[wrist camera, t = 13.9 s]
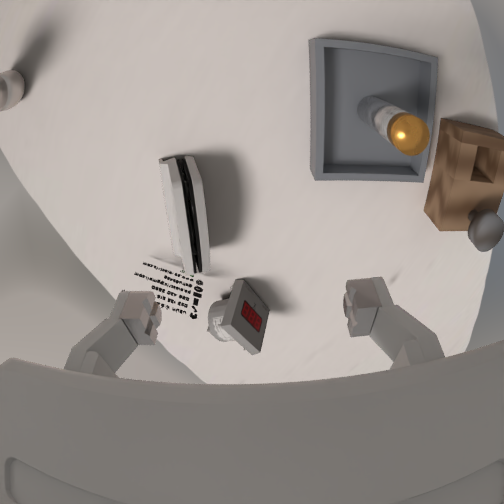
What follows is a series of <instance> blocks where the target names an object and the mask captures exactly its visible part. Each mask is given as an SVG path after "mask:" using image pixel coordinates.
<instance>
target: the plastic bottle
mask: <svg viewBox="0 0 504 504" xmlns="http://www.w3.org/2000/svg"><path fill="white" fill-rule="evenodd" d="M24 90H25V83H24V79H23V77H22V75H21V74H20V73H18V72H17V71H14V70H13V71H4V72H2V73H0V111H4V110H8V109H10V108H12V107H14V106H15V105H16V104H18V103H19V101H20V100H21V98H22V96H23V94H24Z"/></svg>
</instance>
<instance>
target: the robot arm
mask: <svg viewBox="0 0 504 504" xmlns="http://www.w3.org/2000/svg"><path fill="white" fill-rule="evenodd" d="M346 290H347V292H346V293H345V294H344V300H343V307H344V313H345V316H346V317H347V318H348V324H347V325H348V329H349V333H350V337H357V336H367V335H370V337H371V338H372V339H373V341H374V342H375V343H376V344H377V345H378V346H379V347H380V348H381V349H382V350H383V351H384V352H385V353H386V354H387V355H388V356H389V357H390V359H391V360H392V361H393V362H394V363H393V364H392V366H391V368H390V370H386V371H380V372H374V373H368V374H361V375H354V376H347V377H339V378H331V379H322V380H311V381H300V382H286V383H268V384H185V383H167V382H154V381H142V380H132V379H123V378H119V377H118V376H117V375H116V374H115V372H116V371H117V370H118V369H119V367H120V366H121V365H122V364H123V363H124V362H125V360H126V359H127V358H128V357H129V356H130V355H131V353H132V352H133V351H134V350H135V349H136V347H137V346H138V345H155V342H156V339H157V335H158V332H157V330H156V328H157V327H158V326H159V325H160V323H161V317H162V313H161V308H160V306H159V304H158V303H156V302H155V298H156V297H155V295H154V293H153V292H151V291H122V292H120V293H119V295H118V297H117V300H116V302H115V304H114V307H113V309H112V312H111V314H110V317H109V319H105V320H104V321H103V322H102V323H100V324H99V325H98V326H97V327H96V328H94V329H93V330H92V331H91V332H90V333H89V334H88V335H86V336H85V337H84V338H83V339H82V340H81V341H80V342H78V343H77V344H76V345H75V346H74V347H73V348H72V349H71V352H70V354H69V357H68V359H67V362H66V365H65V367H64V369H59V368H55V367H50V366H46V365H41V364H37V363H33V362H28V361H24V360H21V359H17V358H9V359H8V360H6V361H5V362H4V363H2V364H1V365H0V504H504V340H502V341H499V342H496V343H493V344H490V345H487V346H483V347H480V348H477V349H474V350H470V351H467V352H464V353H460V354H457V355H453V356H449V357H445V356H444V353H443V350H442V348H441V345H440V343H439V340H438V338H437V335H436V334H435V333H434V332H432V331H431V330H430V329H428V328H427V327H426V326H425V325H423V324H422V323H421V322H419V321H418V320H417V319H416V318H414V317H413V316H412V315H410V314H409V313H408V312H406V311H405V310H404V309H402V308H401V307H400V306H398V305H394V303H393V301H392V298H391V296H390V293H389V291H388V289H387V286H386V284H385V282H384V279H383V278H382V277H374V278H364V279H354V280H347V282H346Z"/></svg>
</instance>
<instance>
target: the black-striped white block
mask: <svg viewBox="0 0 504 504" xmlns="http://www.w3.org/2000/svg"><path fill="white" fill-rule="evenodd" d="M159 165H160V172H161V180H162V187H163V194H164V200H165V207H166V213H167V219H168V225H169V231H170V237H171V242H172V248H173V253H174V255H175V256H178V257H181V259H182V263H183V266H184V270H185V274H186V275H194V273H196V264H197V267H198V270H199V272H202V273H205V272H207V271H209V270H210V247H209V235H208V225H207V216H206V207H205V199H204V191H203V184H202V179H201V176H200V174H199V171H198V168H197V166H196V163H195V160H194V157H192V156H185V159H182V165H183V172H182V170H181V166H180V163H179V160H176V159H175V158H172V159H169V160H166V161H163V160H162V159H159ZM187 198H188V199H190V201H191V210H192V218H191V219H190V214H189V207H188V200H187Z"/></svg>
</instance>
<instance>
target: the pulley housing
mask: <svg viewBox="0 0 504 504" xmlns="http://www.w3.org/2000/svg"><path fill="white" fill-rule="evenodd" d="M503 192H504V136H503V135H501V134H499V133H498V132H496V131H494V130H491V129H487V128H484V127H480V126H475V125H471V124H467V123H462V122H458V121H453V120H448V119H443V118H441V122H440V130H439V137H438V143H437V150H436V155H435V161H434V166H433V171H432V176H431V181H430V186H429V190H428V195H427V199H426V203H425V207H424V212H425V213H426V214H427V215H428V217H429V218H430V219H431V221H432V222H433V223H434V224H435V226H436V227H437V228H438V230H439V231H468V237H469V239H470V240H471V242H472V243H473V244H474V245H475V247H476V248H477V249H478V250H479V251H481V252H485V251H488V250H490V249H492V248H493V247H494V246H495V245H496V244H497V243H498V242H499V241H500V239H501V237H502V235H503V232H504V222H503V221H502V219H501V218H500V217H499V216H498V215H497V211H498V208H499V205H500V202H501V199H502V196H503Z"/></svg>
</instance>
